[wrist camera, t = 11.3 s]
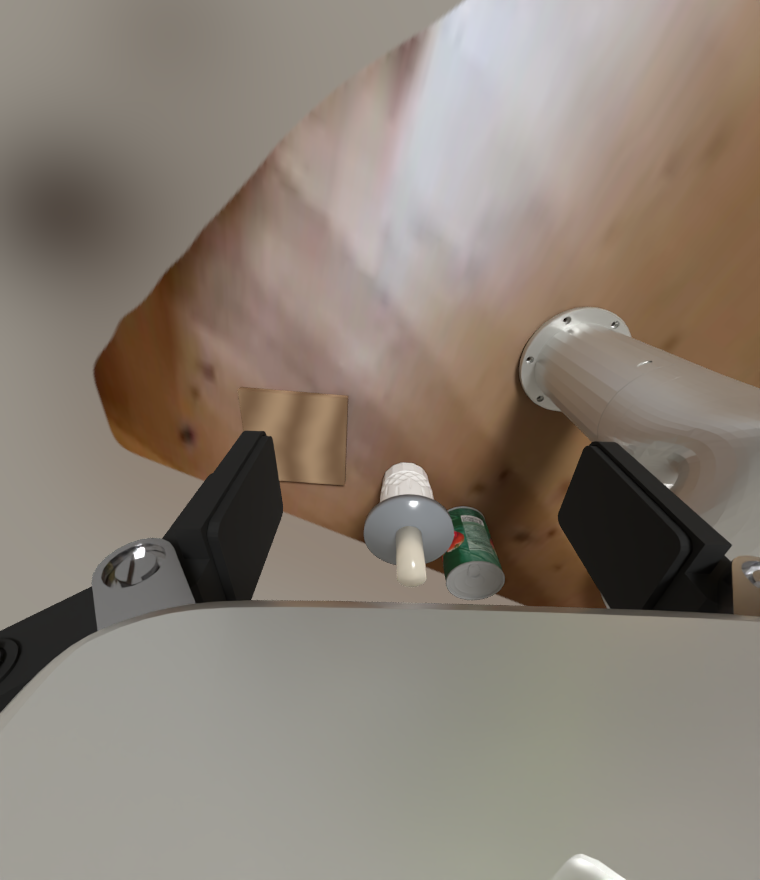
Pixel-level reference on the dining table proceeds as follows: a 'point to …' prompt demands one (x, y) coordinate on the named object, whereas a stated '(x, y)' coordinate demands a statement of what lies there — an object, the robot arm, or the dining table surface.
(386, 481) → the white cup
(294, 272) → the dining table surface
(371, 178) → the dining table surface
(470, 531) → the canned tomato
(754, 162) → the dining table surface
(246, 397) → the cork mat
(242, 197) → the dining table surface
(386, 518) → the lid
